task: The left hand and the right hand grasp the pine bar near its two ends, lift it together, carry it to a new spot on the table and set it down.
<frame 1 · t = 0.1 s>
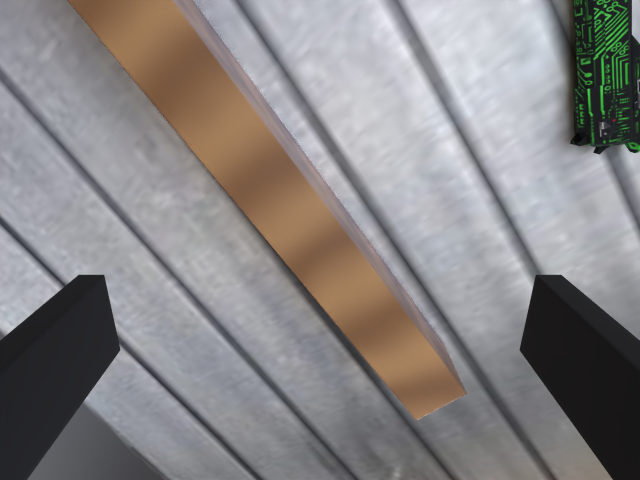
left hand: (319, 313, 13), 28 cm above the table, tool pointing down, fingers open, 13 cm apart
bar: (273, 160, 39), on the table
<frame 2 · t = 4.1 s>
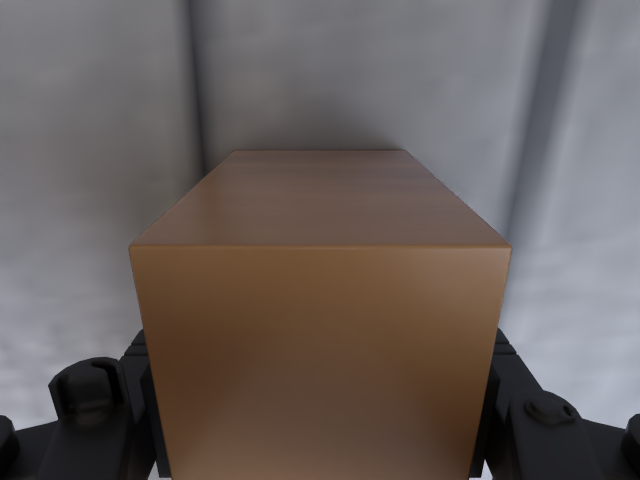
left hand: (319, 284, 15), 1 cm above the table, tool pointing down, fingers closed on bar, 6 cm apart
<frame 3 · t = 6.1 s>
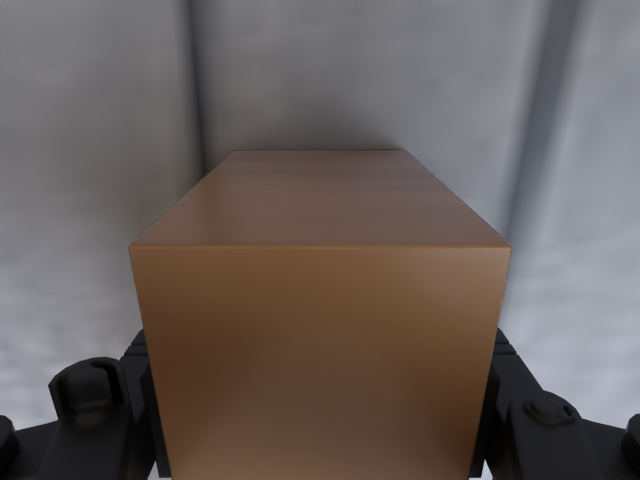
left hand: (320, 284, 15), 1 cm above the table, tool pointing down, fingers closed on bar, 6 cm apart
when the left hand's fingers open (2 cm above the table, at t = 11.5 s): bar drops 2 cm, on the table.
when the right hand's fingers open (4 cm above the table, at t = 11.7 s): bar stays where it is, on the table.
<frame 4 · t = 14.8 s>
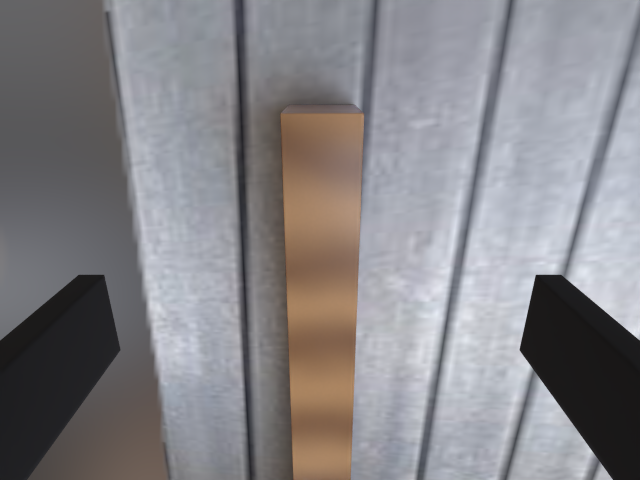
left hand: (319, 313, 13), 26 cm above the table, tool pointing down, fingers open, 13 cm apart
bar: (321, 368, 45), on the table
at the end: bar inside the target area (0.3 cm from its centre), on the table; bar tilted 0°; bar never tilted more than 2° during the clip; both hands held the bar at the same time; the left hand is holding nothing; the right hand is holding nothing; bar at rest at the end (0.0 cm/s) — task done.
